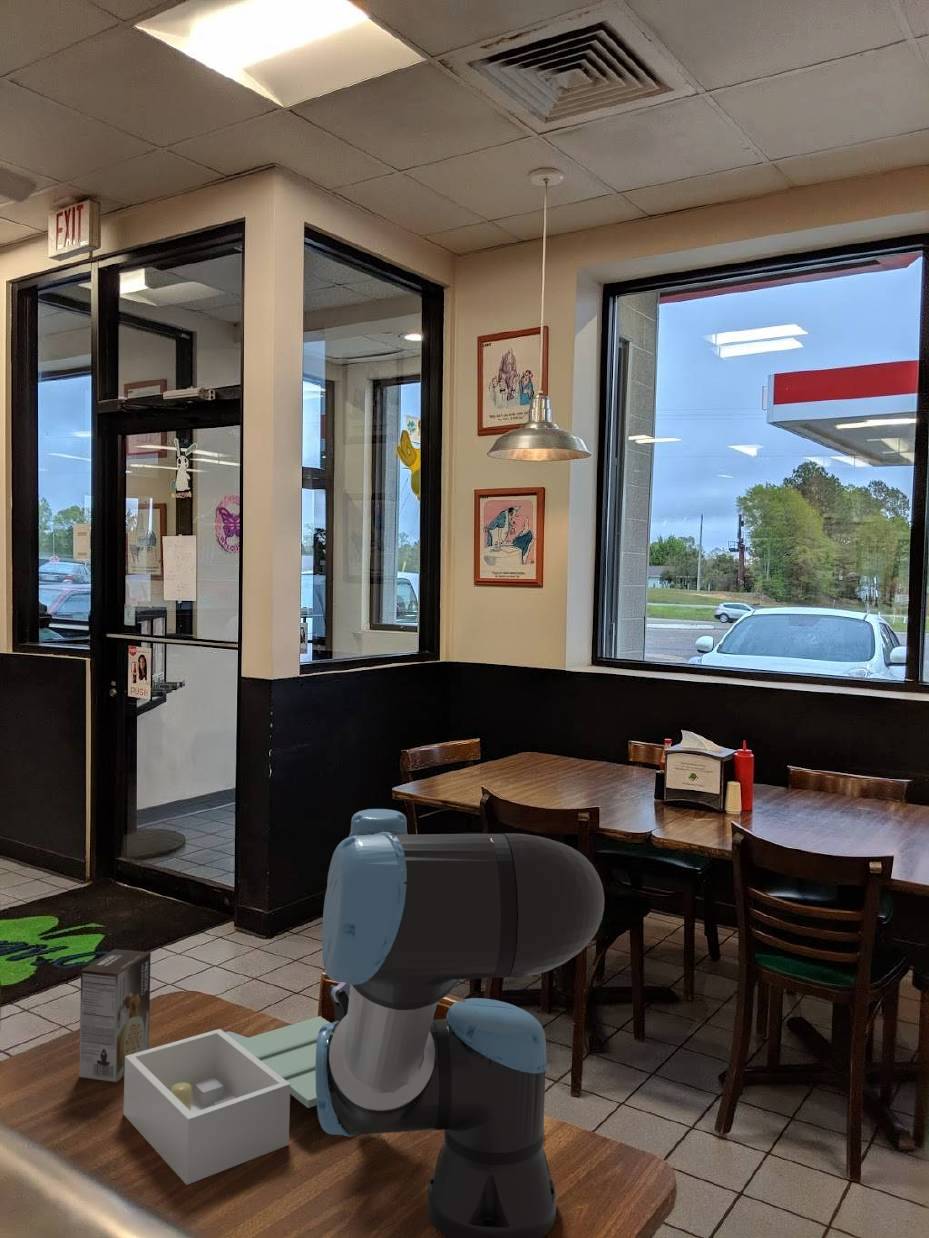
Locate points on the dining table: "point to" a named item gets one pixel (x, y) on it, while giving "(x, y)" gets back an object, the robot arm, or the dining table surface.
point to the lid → (291, 1055)
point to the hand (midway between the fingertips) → (370, 1102)
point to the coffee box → (113, 1013)
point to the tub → (206, 1104)
